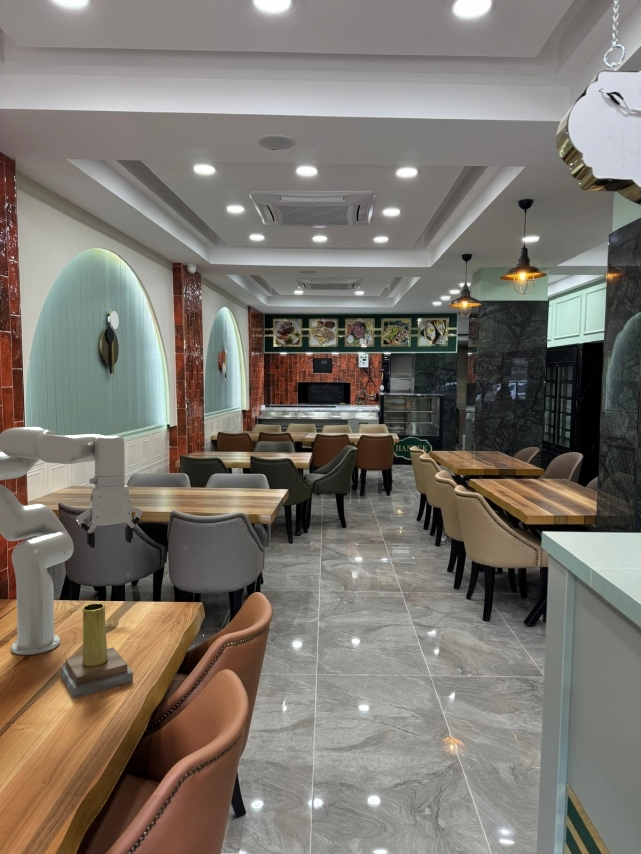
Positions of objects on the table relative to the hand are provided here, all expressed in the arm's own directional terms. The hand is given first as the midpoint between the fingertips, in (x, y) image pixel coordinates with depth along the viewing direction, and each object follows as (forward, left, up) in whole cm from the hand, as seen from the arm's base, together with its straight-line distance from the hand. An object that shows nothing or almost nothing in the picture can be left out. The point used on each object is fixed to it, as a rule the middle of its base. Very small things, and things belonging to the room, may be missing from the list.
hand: (110, 544), depth 153 cm
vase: (+8, -6, -28) cm, 30 cm away
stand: (+8, -6, -32) cm, 34 cm away
